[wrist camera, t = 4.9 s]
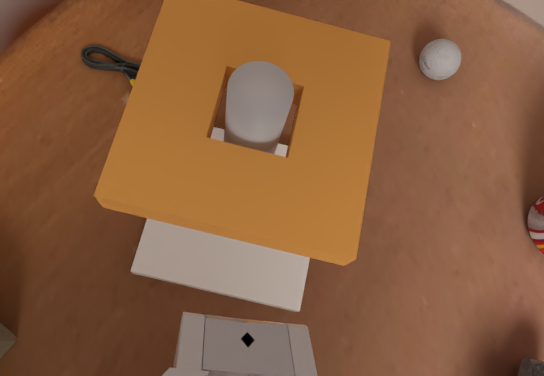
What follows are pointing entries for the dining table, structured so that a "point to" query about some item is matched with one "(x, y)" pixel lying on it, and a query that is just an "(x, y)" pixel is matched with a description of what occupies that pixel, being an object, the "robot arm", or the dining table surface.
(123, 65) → the composite cable
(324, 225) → the collar
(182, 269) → the post stand
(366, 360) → the dining table surface
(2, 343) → the tissue box
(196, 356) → the robot arm
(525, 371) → the pipe
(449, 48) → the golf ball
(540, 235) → the soda can
